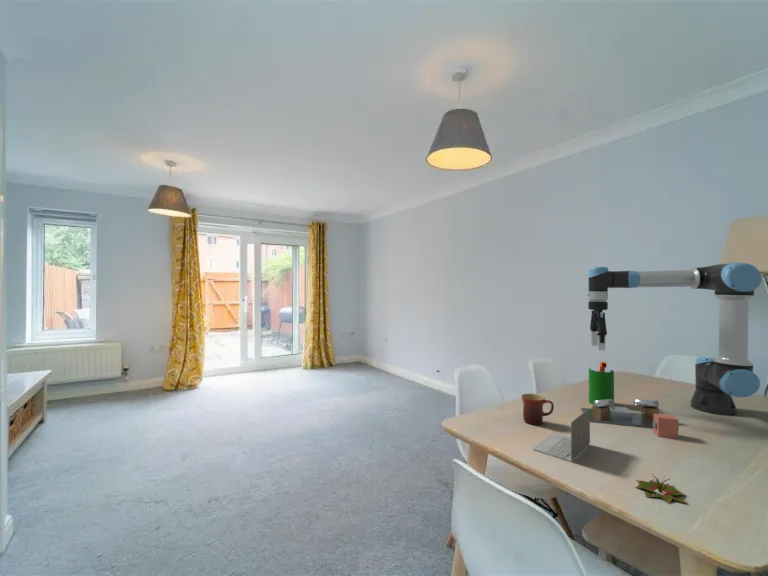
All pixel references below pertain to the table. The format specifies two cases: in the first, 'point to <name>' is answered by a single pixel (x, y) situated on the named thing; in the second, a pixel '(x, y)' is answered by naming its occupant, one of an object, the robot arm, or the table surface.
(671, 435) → the block
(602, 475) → the table surface
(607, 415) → the shaft
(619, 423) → the base plate
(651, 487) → the lily flower
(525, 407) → the mug
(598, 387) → the motor
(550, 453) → the laptop
